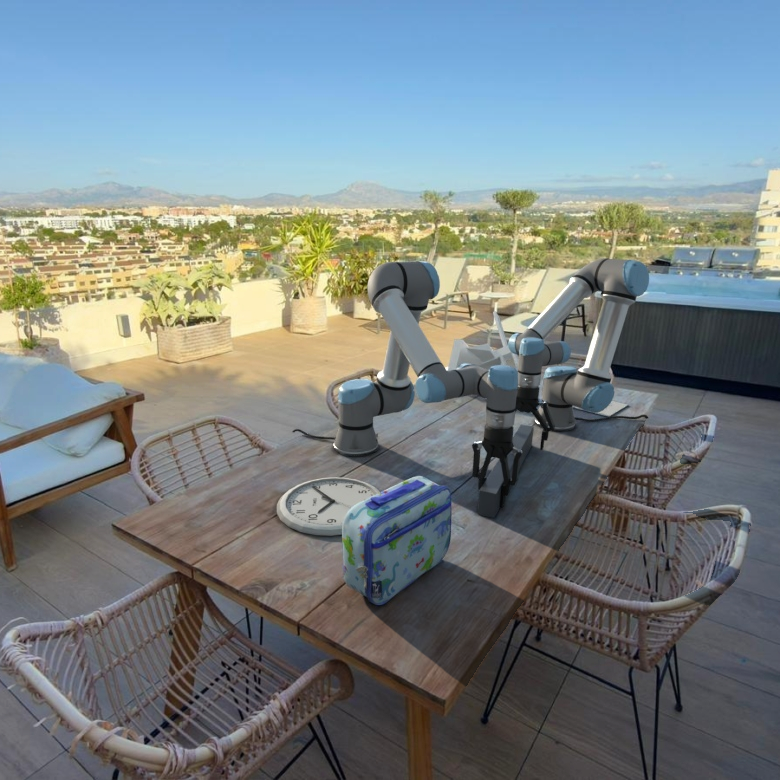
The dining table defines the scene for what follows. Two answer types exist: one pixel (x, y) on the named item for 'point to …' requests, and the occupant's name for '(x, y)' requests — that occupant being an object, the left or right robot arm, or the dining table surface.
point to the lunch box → (395, 537)
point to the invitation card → (610, 408)
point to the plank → (493, 483)
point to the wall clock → (322, 504)
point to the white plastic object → (482, 352)
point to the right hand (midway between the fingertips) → (521, 445)
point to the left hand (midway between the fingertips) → (492, 502)
